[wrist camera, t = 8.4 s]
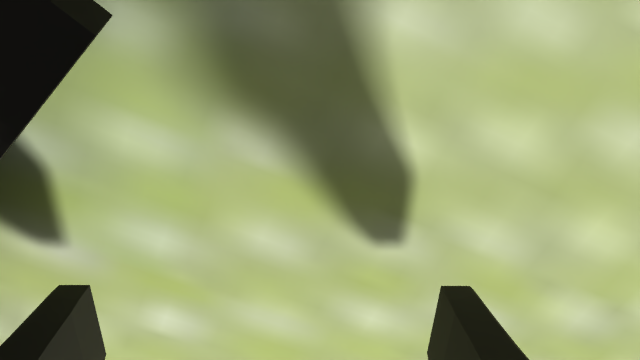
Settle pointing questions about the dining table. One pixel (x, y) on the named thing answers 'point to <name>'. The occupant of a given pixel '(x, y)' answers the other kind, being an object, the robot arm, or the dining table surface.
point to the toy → (39, 54)
